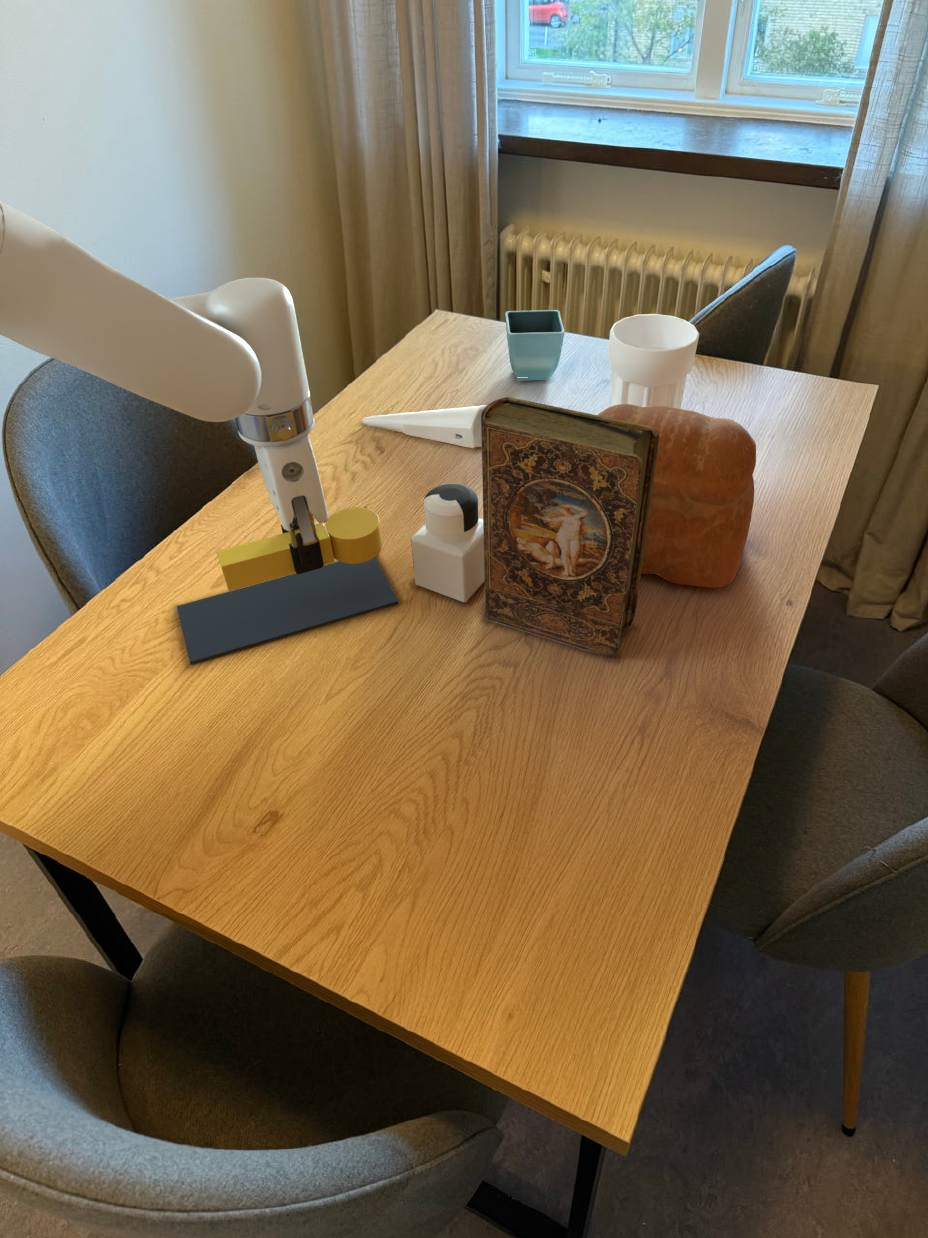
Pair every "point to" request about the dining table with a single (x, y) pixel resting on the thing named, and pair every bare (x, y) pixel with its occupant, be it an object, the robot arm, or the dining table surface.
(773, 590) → the dining table surface
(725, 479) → the bread
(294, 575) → the mat
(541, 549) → the book
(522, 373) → the flower pot
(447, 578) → the medicine bottle
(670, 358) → the cup
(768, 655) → the dining table surface
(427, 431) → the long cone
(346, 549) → the yellow disc-ended bar
